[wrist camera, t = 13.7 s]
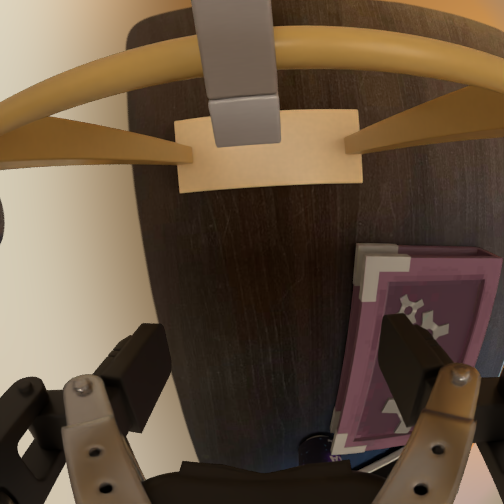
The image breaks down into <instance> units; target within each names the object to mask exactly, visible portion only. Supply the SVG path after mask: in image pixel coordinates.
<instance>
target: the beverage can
mask: <svg viewBox="0 0 504 504" xmlns="http://www.w3.org/2000/svg"><path fill="white" fill-rule="evenodd" d="M332 442H333V438H331V437H328V436H324V435H318V436H313V437H311V438H309V439H307V440H306V441H305V442H303V443H302V444H301V445H300V447H299V449H298V453H299V466H301V465H305V464H311V463H323V462H333V461H341V455H331V446H332Z"/></svg>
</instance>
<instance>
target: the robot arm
mask: <svg viewBox="0 0 504 504" xmlns="http://www.w3.org/2000/svg"><path fill="white" fill-rule="evenodd" d="M378 364H379V368H380V370H381V372H382V374H383V376H384V378H385V381H386V383H387V385H388V387H389V389H390V392H391V394H392V396H393V398H394V400H395V403H396V405H397V407H398V409H399V412H400V414H401V416H402V419H403V421H404V423H405V426H406V428H408V427H412V426H415V427H414V429H413V431H412V433H411V435H410V437H409V439H408V441H407V443H406V445H405V447H404V449H403V451H402V453H401V455H400V456H399V458H398V460H397V462H396V464H395V466H394V467H393V469H392V471H391V473H390V474H389V476H388V478H387V479H386V478H384V477H381V476H378V475H376V474H372V473H368V472H361V471H352V470H351V465H350V460H341V461H333V462H323V463H311V464H305V465H301V466H297V467H293V468H289V469H285V470H280V471H276V472H271V473H258V472H253V471H248V470H244V469H239V468H235V467H231V466H227V465H223V464H210V463H198V462H188V461H182V465H181V468H180V471H179V472H172V473H166V474H162V475H158V476H155V477H152V478H149V479H147V480H146V479H145V477H144V475H143V473H142V471H141V469H140V467H139V465H138V462H137V460H136V458H135V456H134V454H133V451H132V449H131V447H130V444H129V442H128V440H127V438H126V435H127V434H128V432H129V431H131V432H136V433H142V431H143V429H144V427H145V425H146V423H147V421H148V419H149V417H150V415H151V413H152V411H153V408H154V406H155V404H156V402H157V400H158V398H159V396H160V394H161V392H162V390H163V388H164V386H165V384H166V382H167V380H168V378H169V376H170V373H171V357H170V353H169V348H168V344H167V339H166V334H165V330H164V327H163V325H162V324H150V323H143V324H141V325H140V326H139V327H138V329H137V330H136V331H135V332H134V334H133V335H130V336H128V337H126V338H125V339H123V340H121V341H120V342H119V343H118V344H117V345H116V347H115V348H114V349H113V351H111V353H110V354H109V355H108V357H106V359H105V360H104V361H103V362H102V363H101V365H100V366H99V367H98V368H97V370H96V371H95V372H94V373H93V374H85V375H80V376H77V377H75V378H72V379H71V380H69V381H68V382H67V383H66V384H65V386H64V388H63V390H46V388H45V386H44V384H43V382H42V380H41V379H39V378H37V377H26V378H22V379H20V380H18V381H17V382H15V383H14V384H13V385H12V386H11V387H10V388H9V389H8V390H7V391H6V392H5V393H4V394H3V395H2V396H1V398H0V504H44V502H45V500H46V498H47V496H48V495H49V493H50V491H51V489H52V487H53V485H54V483H55V481H56V479H57V477H58V476H59V474H60V472H61V470H62V468H63V467H64V465H65V463H67V468H68V473H69V478H70V482H71V487H72V491H73V494H74V499H75V503H76V504H453V502H454V500H455V497H456V494H457V491H458V489H459V486H460V483H461V480H462V477H463V474H464V470H465V467H466V464H467V461H468V457H469V453H470V450H471V446H472V443H476V444H477V446H478V448H479V450H480V452H481V454H482V456H483V458H484V461H485V463H486V465H487V467H488V469H489V472H490V473H491V476H492V478H493V481H494V483H495V484H496V487H497V489H498V492H499V495H500V497H501V499H502V502H503V504H504V368H503V371H502V373H501V376H500V377H489V378H481V376H480V373H479V372H478V371H477V370H476V369H475V368H474V367H472V366H470V365H467V364H464V363H454V362H453V361H452V359H451V358H450V357H449V356H448V354H447V353H446V352H445V351H444V349H443V348H442V347H441V346H440V345H439V343H438V342H437V341H436V340H435V339H434V337H433V336H432V335H431V334H430V333H429V331H428V330H426V329H425V328H423V327H421V326H419V325H417V324H415V325H413V324H412V322H411V321H410V320H409V319H408V317H407V316H406V315H405V314H404V313H398V314H389V315H384V316H383V318H382V323H381V332H380V341H379V348H378ZM27 429H29V431H30V432H31V434H32V435H33V437H34V440H33V442H32V443H31V445H30V446H29V448H28V449H27V451H26V452H25V454H24V455H23V457H22V458H21V457H20V456H19V454H18V450H17V446H18V442H19V440H20V439H21V437H22V436H23V435H24V433H25V432H26V431H27Z"/></svg>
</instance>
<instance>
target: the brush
mask: <svg viewBox="0 0 504 504" xmlns="http://www.w3.org/2000/svg"><path fill="white" fill-rule="evenodd" d="M191 3H192V10H193V16H194V22H195V28H196V34H197V40H198V46H199V52H200V58H201V64H202V69H203V75H204V81H205V87H206V92H207V96H208V98H209V99H210V100H209V103H208V105H209V111H210V116H211V122H212V128H213V133H214V139H215V144H216V146H217V147H218V148H221V147H232V146H244V145H257V144H273V143H280V142H281V125H280V108H279V96H278V80H277V66H276V53H275V41H274V30H273V19H272V8H271V0H191Z"/></svg>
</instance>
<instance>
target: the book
mask: <svg viewBox="0 0 504 504" xmlns="http://www.w3.org/2000/svg"><path fill="white" fill-rule="evenodd" d="M502 261H503V258H501V257H499V256H497V255H495V254H493V253H491V252H489V251H487V250H484V249H482V248H480V247H457V246H415V245H396V244H379V243H356V252H355V264H354V275H353V284H354V286H353V295H352V304H351V312H350V320H349V328H348V335H347V342H346V348H345V355H344V361H343V367H342V373H341V379H340V384H339V390H338V395H337V400H336V405H335V407H334V411H333V416H332V420H331V425H330V432H331V433H335V434H334V438H333V442H332V446H331V455H340V454H351V453H361V452H365V451H368V450H376V449H383V448H390V447H396V446H402V445H406V443H407V441H408V439H409V437H410V435H411V433H412V431H413V429H414V427H415V426H412V427H408V428H406V426H405V423H404V421H403V419H402V416H401V414H400V412H399V409H398V407H397V405H396V403H395V400H394V398H393V396H392V394H391V392H390V389H389V387H388V385H387V383H386V381H385V378H384V376H383V374H382V372H381V370H380V368H379V364H378V348H379V341H380V332H381V323H382V318H383V316H384V315H389V314H398V313H404V314H405V315H406V316H407V317H408V319H409V320H410V321H411V322H412V324H413V325H415V324H417V325H419V326H421V327H423V328H425V329H426V330H428V331H429V333H430V334H431V335H432V336H433V337H434V339H435V340H436V341H437V342H438V343H439V345H440V346H441V347H442V348H443V349H444V351H445V352H446V353H447V354H448V356H449V357H450V358H451V359H452V361H453V362H454V363H464V364H467V365H470V366H472V367H474V366H475V363H476V361H477V358H478V355H479V352H480V349H481V346H482V343H483V340H484V336H485V333H486V330H487V326H488V323H489V319H490V316H491V312H492V308H493V304H494V300H495V296H496V291H497V287H498V282H499V277H500V272H501V267H502Z"/></svg>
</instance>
